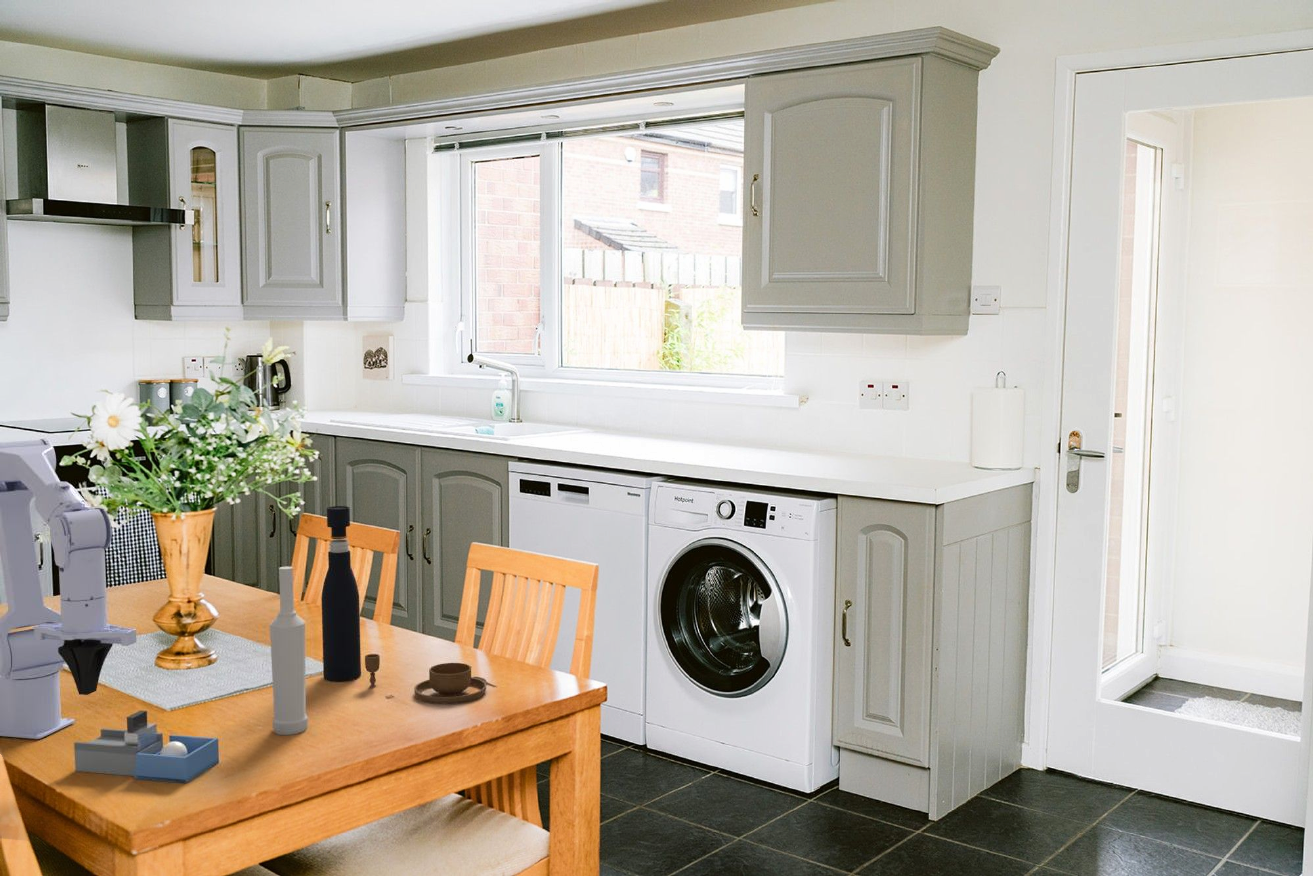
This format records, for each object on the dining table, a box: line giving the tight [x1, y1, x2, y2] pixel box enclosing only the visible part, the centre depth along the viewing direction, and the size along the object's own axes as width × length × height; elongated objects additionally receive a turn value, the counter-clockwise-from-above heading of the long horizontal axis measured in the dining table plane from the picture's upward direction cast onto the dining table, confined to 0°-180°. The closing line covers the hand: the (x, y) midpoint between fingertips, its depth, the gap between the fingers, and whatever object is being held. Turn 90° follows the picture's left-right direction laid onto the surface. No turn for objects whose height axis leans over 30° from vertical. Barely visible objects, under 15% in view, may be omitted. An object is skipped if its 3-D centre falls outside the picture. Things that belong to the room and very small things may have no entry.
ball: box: [160, 741, 187, 757], centre depth 162 cm, size 4×4×4 cm
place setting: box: [364, 653, 498, 705], centre depth 199 cm, size 18×20×6 cm
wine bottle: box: [320, 505, 362, 683], centre depth 204 cm, size 6×6×30 cm
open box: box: [133, 734, 220, 784], centre depth 162 cm, size 8×8×4 cm
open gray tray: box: [73, 728, 164, 777], centre depth 163 cm, size 10×6×4 cm, turn 78°
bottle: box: [269, 565, 309, 736], centre depth 177 cm, size 5×5×25 cm
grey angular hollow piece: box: [124, 710, 158, 751], centre depth 162 cm, size 2×4×4 cm, turn 168°
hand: (87, 692), depth 163 cm, fingers closed
